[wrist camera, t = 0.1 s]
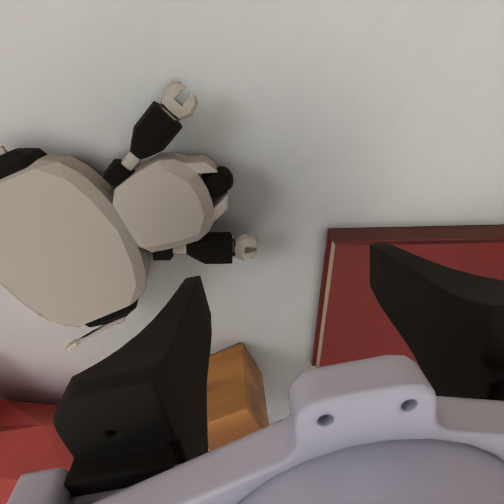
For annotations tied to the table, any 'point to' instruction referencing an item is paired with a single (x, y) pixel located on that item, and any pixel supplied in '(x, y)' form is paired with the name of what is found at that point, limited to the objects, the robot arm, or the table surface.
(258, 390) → the wood block
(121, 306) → the robot toy
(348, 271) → the book
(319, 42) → the table surface
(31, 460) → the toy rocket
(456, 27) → the table surface
